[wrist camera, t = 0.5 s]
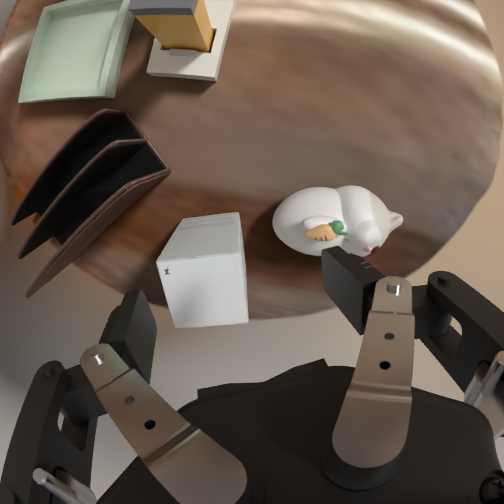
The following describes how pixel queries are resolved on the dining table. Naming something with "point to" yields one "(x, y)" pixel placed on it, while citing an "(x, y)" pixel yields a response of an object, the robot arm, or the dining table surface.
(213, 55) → the block
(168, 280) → the supplement box
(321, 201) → the cat figurine
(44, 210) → the letter holder
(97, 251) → the dining table surface
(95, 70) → the tray
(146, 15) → the yellow grey long block
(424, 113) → the dining table surface
